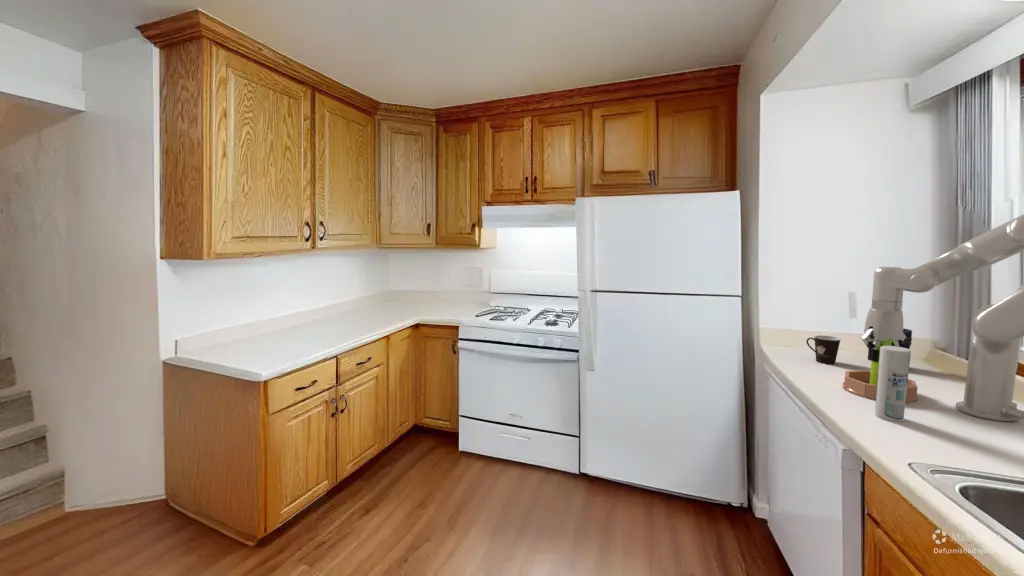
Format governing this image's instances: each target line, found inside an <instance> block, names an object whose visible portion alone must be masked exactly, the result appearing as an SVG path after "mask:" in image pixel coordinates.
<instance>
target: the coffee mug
mask: <svg viewBox="0 0 1024 576" xmlns="http://www.w3.org/2000/svg"><path fill="white" fill-rule="evenodd" d="M809 340H813V341H814V348H813V347H812V346H811V345H810V343H809ZM840 343H841V338H839V337H836V336H833V335H832V336H831V335H815V336H814V337H808V338H807V339H806V345H807V346H808V347H809V349H811V350H812V351H813V352H814V353H815V362H816V361H817V362H816V363H819V364H823V363H825V364H824V365H835V364H836V361H837V356H838V352H839V347H840ZM834 363H835V364H834Z"/></svg>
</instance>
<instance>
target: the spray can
mask: <svg viewBox="0 0 1024 576" xmlns="http://www.w3.org/2000/svg"><path fill="white" fill-rule="evenodd" d="M911 355H912V351H911V349H910V350H909V349H907V348H903V347H897V346H881V347H880V359H879V371H878V383H877V395H876V400H875V409H874V413H875V416H876V417H877V418H879V419H881V420H884V421H888V422H894V423H896V422H897V423H901V422H903V421H904V418H905V409H906V403H905V401H906V392H907V383H908V379H909V372H910V364H911Z"/></svg>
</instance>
